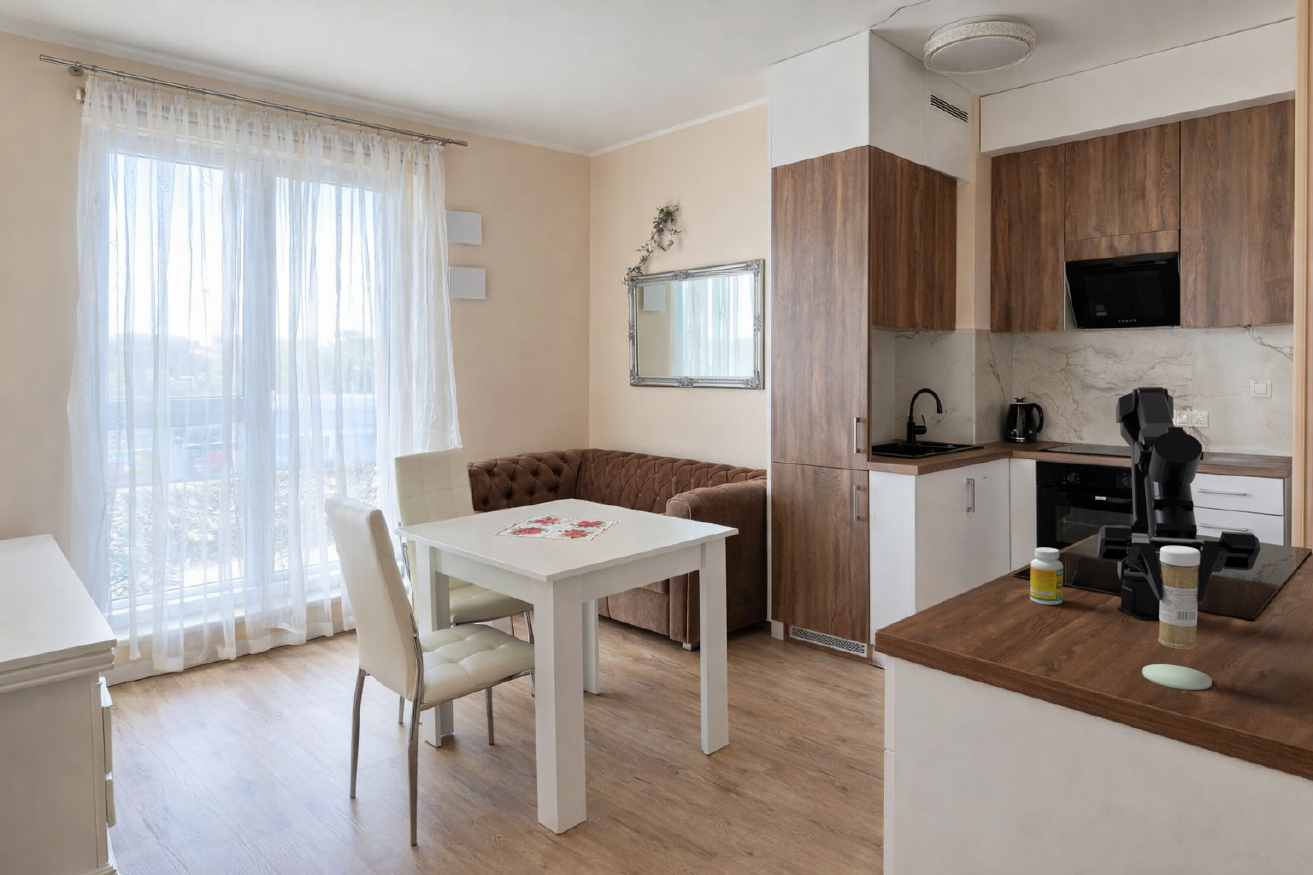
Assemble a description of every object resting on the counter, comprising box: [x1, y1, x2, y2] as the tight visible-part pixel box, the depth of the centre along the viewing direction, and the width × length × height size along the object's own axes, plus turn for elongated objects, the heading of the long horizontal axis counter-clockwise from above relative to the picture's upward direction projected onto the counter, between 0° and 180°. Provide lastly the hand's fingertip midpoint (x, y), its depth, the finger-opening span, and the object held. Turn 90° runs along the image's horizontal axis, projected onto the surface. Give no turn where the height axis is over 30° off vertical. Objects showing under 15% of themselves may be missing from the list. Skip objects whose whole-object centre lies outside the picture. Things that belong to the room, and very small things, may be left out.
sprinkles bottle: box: [1157, 546, 1200, 650], centre depth 110 cm, size 5×5×13 cm
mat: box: [1141, 663, 1213, 691], centre depth 110 cm, size 8×8×1 cm
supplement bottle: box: [1029, 546, 1064, 606], centre depth 147 cm, size 5×5×10 cm
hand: (1180, 600), depth 108 cm, fingers closed on sprinkles bottle, 4 cm apart
